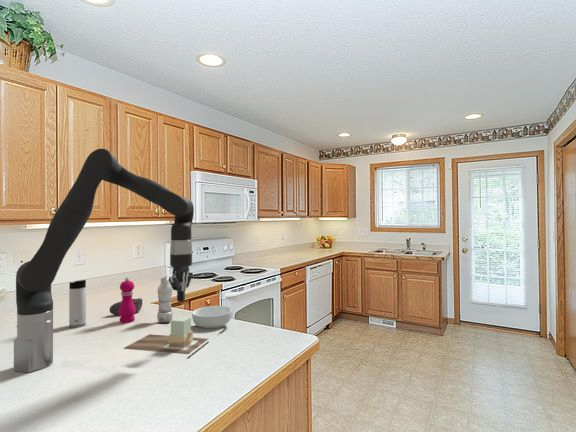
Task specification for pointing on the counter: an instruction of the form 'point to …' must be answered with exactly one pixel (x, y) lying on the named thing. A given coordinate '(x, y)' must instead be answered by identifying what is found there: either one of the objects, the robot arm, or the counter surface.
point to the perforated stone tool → (115, 307)
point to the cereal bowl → (212, 316)
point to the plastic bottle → (164, 301)
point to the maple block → (180, 340)
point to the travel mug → (77, 304)
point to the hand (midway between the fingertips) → (180, 301)
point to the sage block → (180, 326)
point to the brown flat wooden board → (165, 345)
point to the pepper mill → (127, 302)
